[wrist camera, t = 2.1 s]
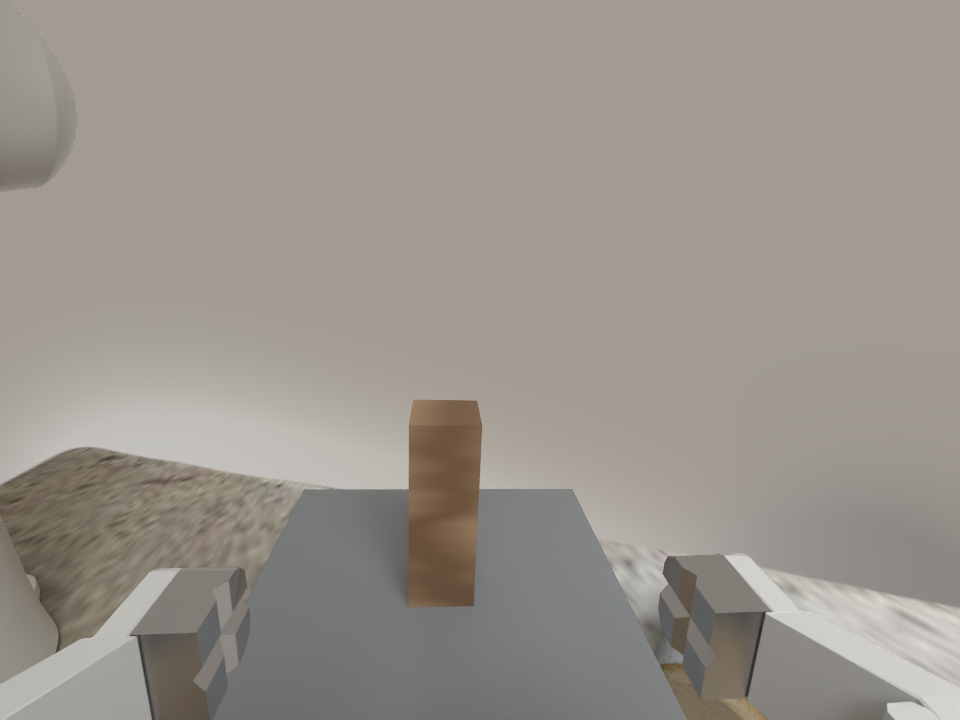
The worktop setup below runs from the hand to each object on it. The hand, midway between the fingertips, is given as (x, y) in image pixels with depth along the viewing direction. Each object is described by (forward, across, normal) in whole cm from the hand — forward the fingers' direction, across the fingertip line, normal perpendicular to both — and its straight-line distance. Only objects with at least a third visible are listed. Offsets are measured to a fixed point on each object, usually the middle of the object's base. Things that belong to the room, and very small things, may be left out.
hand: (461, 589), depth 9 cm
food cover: (+12, 0, +21) cm, 24 cm away
